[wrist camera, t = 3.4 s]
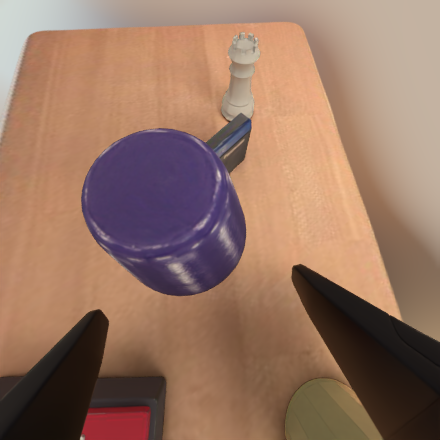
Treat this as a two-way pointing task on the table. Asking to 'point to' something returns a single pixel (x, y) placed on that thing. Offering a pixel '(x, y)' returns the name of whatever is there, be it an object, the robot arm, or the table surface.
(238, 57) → the rook chess piece
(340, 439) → the pencil cup
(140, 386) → the calculator
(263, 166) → the table surface
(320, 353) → the table surface
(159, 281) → the toy lamp
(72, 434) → the robot arm
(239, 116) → the mini dv tape
